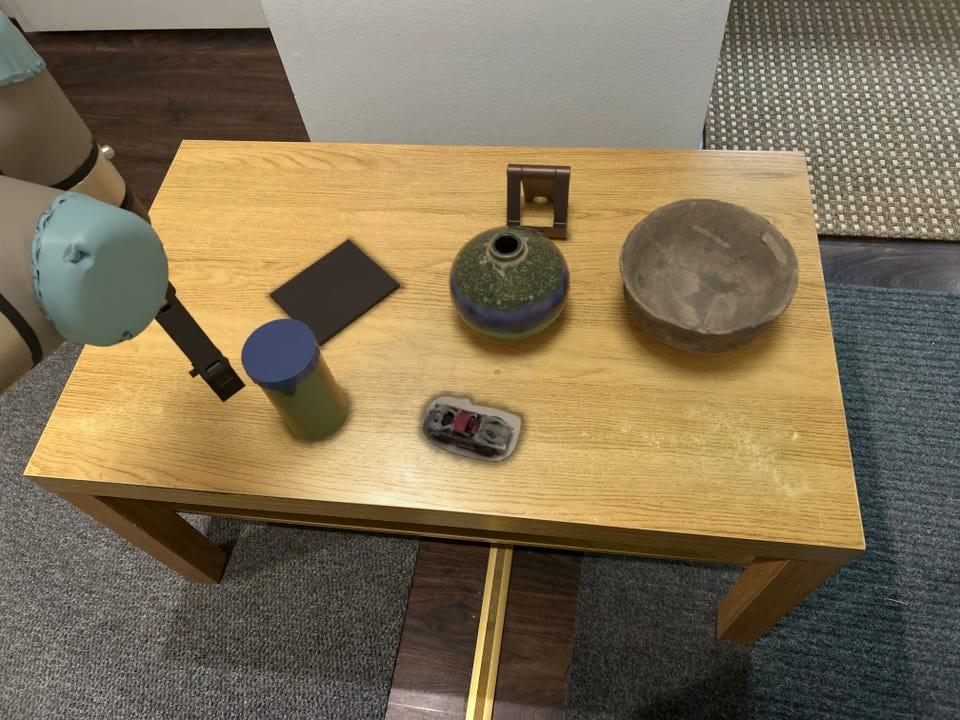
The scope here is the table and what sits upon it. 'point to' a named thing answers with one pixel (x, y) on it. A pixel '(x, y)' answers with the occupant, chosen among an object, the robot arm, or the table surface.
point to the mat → (335, 291)
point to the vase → (509, 283)
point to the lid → (280, 354)
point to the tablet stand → (539, 193)
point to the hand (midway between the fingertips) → (199, 351)
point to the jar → (312, 404)
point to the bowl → (707, 275)
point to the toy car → (471, 429)
